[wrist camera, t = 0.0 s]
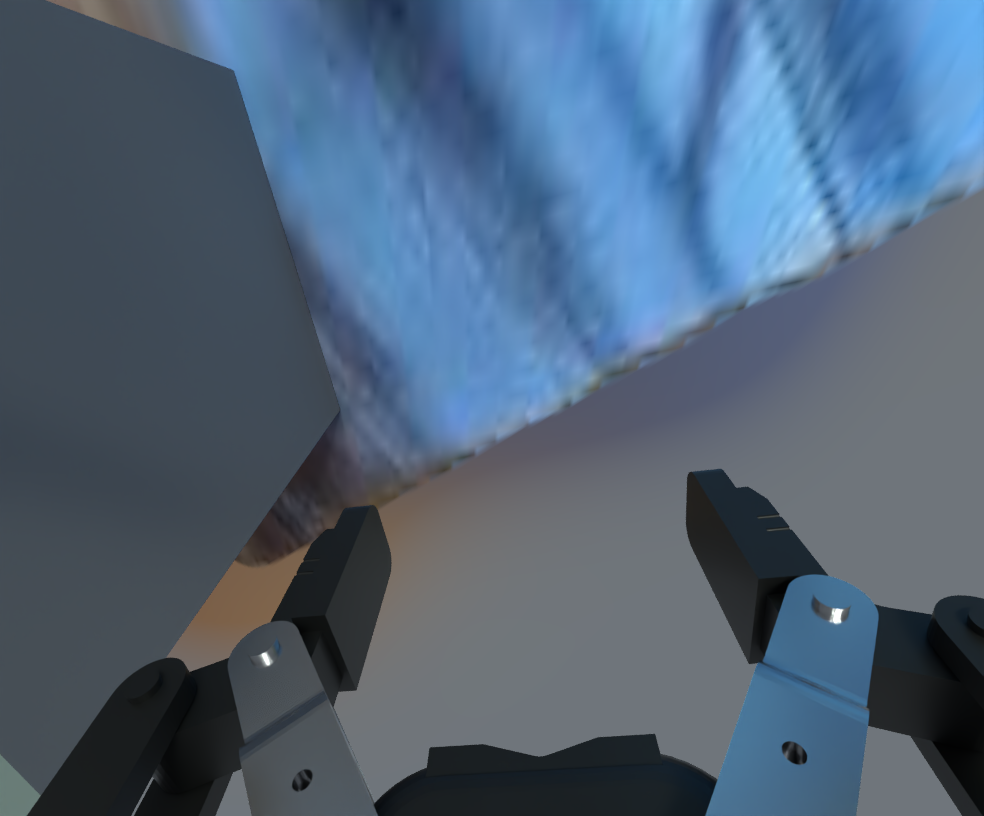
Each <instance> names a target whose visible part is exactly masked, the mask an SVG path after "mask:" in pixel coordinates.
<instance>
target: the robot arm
mask: <svg viewBox="0 0 984 816" xmlns="http://www.w3.org/2000/svg"><path fill="white" fill-rule="evenodd" d="M686 504H687V505H686V527H687V534H688V538H689V541H690V544H691V547H692V549H693V551H694V553H695V555H696V557H697V559H698V561H699V563H700V565H701V567H702V569H703V571H704V573H705V576H706V577H707V580H708V582H709V584H710V586H711V588H712V590H713V592H714V594H715V596H716V598H717V600H718V602H719V604H720V606H721V608H722V610H723V612H724V614H725V616H726V618H727V620H728V622H729V624H730V626H731V628H732V631H733V632H734V635H735V637H736V639H737V641H738V643H739V645H740V647H741V649H742V651H743V653H744V655H745V657H746V659H747V661H748V663H749V664H753V663H758V664H757V666H756V669H755V672H754V674H753V677H752V681H751V684H750V686H749V689H748V692H747V695H746V698H745V701H744V704H743V707H742V710H741V713H740V716H739V719H738V721H737V724H736V727H735V730H734V733H733V736H732V739H731V742H730V745H729V748H728V751H727V754H726V757H725V760H724V763H723V765H722V768H721V772H720V774H719V777H718V780H717V779H716V778H714V777H713V776H711V775H709V774H708V773H706V772H705V771H703V770H702V769H700V768H698V767H696V766H694V765H692V764H690V763H687V762H685V761H682V760H679V759H676V758H674V757H671V756H667V755H663V754H660V751H659V748H658V744H657V740H656V736H655V734H646V735H630V736H613V737H598V738H595V739H592V740H589V741H586V742H583V743H581V744H578V745H575V746H572V747H570V748H566V749H564V750H561V751H558V752H555V753H552V754H549V755H547V756H543V757H542V756H541V757H538V756H532V755H528V754H523V753H519V752H515V751H510V750H506V749H501V748H497V747H493V746H488V745H483V744H481V745H464V746H448V747H431V748H430V749H429V757H428V763H427V768H425V769H422V770H420V771H418V772H416V773H414V774H412V775H410V776H408V777H406V778H405V779H403V780H402V781H400V782H399V783H397V784H396V785H394V786H393V787H392V788H391V789H389V790H388V791H387V792H386V793H385V794H383V795H382V796H381V797H380V798H379V799H378V800H377V801H376V802H375V800H374V798H373V796H372V794H371V792H370V789H369V787H368V785H367V783H366V781H365V778H364V776H363V774H362V771H361V769H360V767H359V765H358V762H357V760H356V757H355V755H354V753H353V750H352V748H351V746H350V744H349V741H348V739H347V737H346V734H345V732H344V730H343V728H342V725H341V723H340V721H339V718H338V716H337V714H336V712H335V709H334V703H335V700H336V697H337V694H338V692H339V691H340V692H341V691H354V690H357V687H358V683H359V680H360V676H361V673H362V669H363V666H364V662H365V659H366V656H367V652H368V649H369V645H370V642H371V638H372V635H373V632H374V628H375V625H376V621H377V618H378V615H379V611H380V608H381V604H382V601H383V597H384V594H385V591H386V587H387V584H388V580H389V577H390V572H391V553H390V548H389V545H388V542H387V539H386V536H385V532H384V529H383V526H382V523H381V519H380V516H379V513H378V510H377V508H376V507H375V506H374V505H370V506H361V507H352V508H345V509H344V510H343V512H342V514H341V516H340V518H339V520H338V522H337V524H336V526H335V528H334V529H326V530H325V531H324V532H323V533H322V534H321V535H320V536H319V537H318V538H317V539H316V540H315V541H314V542H313V543H312V544H311V546H310V548H309V550H308V552H307V554H306V555H305V557H304V562H303V563H301V565H300V567H299V569H298V571H297V575H296V576H294V578H293V580H292V582H291V584H290V586H289V588H288V590H287V591H286V593H285V595H284V597H283V599H282V601H281V603H280V605H279V607H278V609H277V611H276V613H275V614H274V616H273V618H272V620H271V622H270V623H267V624H264V625H262V626H260V627H258V628H256V629H255V630H253V631H252V632H250V633H249V634H247V635H246V636H245V637H244V638H243V639H242V640H241V641H240V642H239V643H238V644H237V645H236V647H235V648H234V650H233V651H232V653H231V655H230V657H229V658H227V659H225V660H222V661H219V662H216V663H214V664H211V665H208V666H205V667H203V668H200V669H197V670H194V671H192V672H189V670H188V669H187V667H186V666H185V664H184V663H183V661H181V660H180V659H177V658H164V659H160V660H157V661H154V662H152V663H149V664H147V665H145V666H144V667H142V668H140V669H139V670H137V671H136V672H134V673H133V674H132V675H130V676H129V677H128V678H127V679H125V680H124V681H123V682H122V683H121V684H120V685H119V686H118V687H117V688H116V690H115V691H114V692H113V694H112V695H111V696H110V698H109V699H108V701H107V702H106V703H105V705H104V706H103V708H102V709H101V711H100V712H99V713H98V715H97V716H96V718H95V719H94V721H93V722H92V723H91V725H90V726H89V728H88V729H87V731H86V732H85V733H84V735H83V736H82V738H81V739H80V740H79V742H78V743H77V745H76V746H75V748H74V749H73V750H72V752H71V753H70V755H69V756H68V758H67V759H66V760H65V762H64V763H63V765H62V766H61V768H60V769H59V770H58V772H57V773H56V775H55V776H54V778H53V779H52V780H51V782H50V783H49V785H48V786H47V787H46V789H45V790H44V792H43V793H42V795H41V796H40V797H39V799H38V800H37V802H36V803H35V805H34V806H33V807H32V809H31V810H30V812H29V813H28V815H27V816H131V815H132V813H133V811H134V809H135V807H136V805H137V804H138V802H139V800H140V798H141V796H142V794H143V792H144V791H145V789H146V786H147V785H148V783H149V781H150V779H151V778H152V777H153V778H154V779H153V781H152V783H151V785H150V787H149V789H148V791H147V792H146V794H145V796H144V798H143V800H142V802H141V804H140V805H139V807H138V809H137V811H136V813H135V815H134V816H215V815H216V812H217V810H218V808H219V805H220V803H221V801H222V798H223V796H224V793H225V791H226V788H227V786H228V783H229V781H230V778H231V776H232V774H233V772H235V771H237V770H240V769H242V772H243V777H244V781H245V786H246V790H247V795H248V799H249V805H250V809H251V814H252V816H856V813H857V806H858V798H859V791H860V783H861V775H862V768H863V760H864V752H865V744H866V736H867V729H868V726H871V727H875V728H880V729H884V730H888V731H892V732H897V733H901V734H905V735H910V736H911V738H912V739H913V741H914V742H915V744H916V745H917V747H918V748H919V750H920V751H921V753H922V755H923V756H924V758H925V759H926V761H927V762H928V764H929V765H930V767H931V768H932V770H933V771H934V773H935V775H936V776H937V778H938V779H939V781H940V782H941V784H942V785H943V787H944V788H945V790H946V791H947V793H948V794H949V796H950V798H951V799H952V801H953V802H954V804H955V805H956V807H957V808H958V810H959V811H960V813H961V815H962V816H984V599H982V598H977V597H972V596H959V595H958V596H950V597H946V598H944V599H941V600H940V601H939V602H938V603H937V604H936V606H935V608H934V611H933V614H932V615H931V614H924V613H919V612H912V611H906V610H900V609H893V608H888V607H883V606H879V605H875V604H874V603H873V602H872V601H871V599H870V598H869V597H868V596H867V595H866V594H865V593H863V592H862V591H861V590H859V589H858V588H856V587H855V586H853V585H851V584H849V583H847V582H845V581H843V580H840V579H837V578H834V577H830V576H828V575H827V574H826V572H825V571H824V570H823V568H822V567H821V566H820V565H819V563H818V562H817V561H816V560H815V558H814V557H813V556H812V555H811V553H810V552H809V551H808V550H807V548H806V547H805V546H804V545H803V543H802V542H801V541H800V539H799V538H798V537H797V536H796V534H795V533H794V532H793V531H792V530H790V529H789V526H788V524H787V523H786V522H785V521H784V519H783V518H782V517H780V516H779V513H778V512H777V511H776V509H775V508H774V507H773V506H772V504H771V503H770V502H769V500H768V499H766V498H765V497H764V496H762V495H760V494H759V493H757V492H756V491H754V490H752V489H751V488H749V487H741V488H736V487H735V486H734V484H733V483H732V481H731V480H730V479H729V477H728V476H727V475H726V473H725V472H724V471H723V470H722V469H715V470H705V471H695V472H690V473H689V474H688V477H687V503H686Z"/></svg>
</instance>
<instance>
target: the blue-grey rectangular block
mask: <svg viewBox="0 0 984 816" xmlns="http://www.w3.org/2000/svg"><path fill="white" fill-rule="evenodd" d="M339 411H340V407H339V404H338V401H337V398H336V395H335V391H334V388H333V385H332V382H331V379H330V376H329V372H328V369H327V366H326V363H325V360H324V357H323V353H322V350H321V347H320V344H319V341H318V337H317V334H316V331H315V328H314V325H313V322H312V318H311V315H310V312H309V309H308V306H307V303H306V299H305V296H304V293H303V290H302V287H301V283H300V280H299V277H298V274H297V271H296V268H295V264H294V261H293V258H292V255H291V252H290V248H289V245H288V242H287V239H286V236H285V233H284V229H283V226H282V223H281V220H280V217H279V214H278V210H277V207H276V204H275V201H274V198H273V194H272V191H271V188H270V185H269V182H268V179H267V175H266V172H265V169H264V166H263V163H262V159H261V156H260V153H259V150H258V147H257V144H256V140H255V137H254V134H253V131H252V128H251V125H250V121H249V118H248V115H247V112H246V109H245V105H244V102H243V99H242V96H241V93H240V90H239V86H238V83H237V80H236V77H235V74H234V71H233V70H231V69H228V68H226V67H223V66H220V65H218V64H215V63H212V62H210V61H207V60H204V59H202V58H199V57H196V56H193V55H191V54H188V53H185V52H183V51H180V50H177V49H175V48H172V47H169V46H167V45H164V44H161V43H159V42H156V41H153V40H150V39H148V38H145V37H142V36H140V35H137V34H134V33H132V32H129V31H126V30H124V29H121V28H118V27H116V26H113V25H110V24H107V23H105V22H102V21H99V20H97V19H94V18H91V17H89V16H86V15H83V14H81V13H78V12H75V11H73V10H70V9H67V8H64V7H62V6H59V5H56V4H54V3H51V2H48V1H46V0H0V816H27V815H28V813H29V812H30V810H31V809H32V807H33V806H34V805H35V803H36V802H37V800H38V799H39V797H40V796H41V795H42V793H43V792H44V790H45V789H46V787H47V786H48V785H49V783H50V782H51V780H52V779H53V778H54V776H55V775H56V773H57V772H58V770H59V769H60V768H61V766H62V765H63V763H64V762H65V760H66V759H67V758H68V756H69V755H70V753H71V752H72V750H73V749H74V748H75V746H76V745H77V743H78V742H79V740H80V739H81V738H82V736H83V735H84V733H85V732H86V731H87V729H88V728H89V726H90V725H91V723H92V722H93V721H94V719H95V718H96V716H97V715H98V713H99V712H100V711H101V709H102V708H103V706H104V705H105V703H106V702H107V701H108V699H109V698H110V696H111V695H112V694H113V692H114V691H115V690H116V688H117V687H118V686H119V685H120V684H121V683H122V682H123V681H124V680H125V679H127V678H128V677H129V676H130V675H132V674H133V673H134V672H136V671H137V670H139V669H140V668H142V667H144V666H145V665H147V664H149V663H152V662H154V661H157V660H160V659H164V658H166V657H167V655H168V654H169V652H170V651H171V649H172V648H173V647H174V645H175V644H176V642H177V641H178V639H179V638H180V637H181V635H182V634H183V632H184V631H185V630H186V628H187V627H188V625H189V624H190V622H191V621H192V620H193V618H194V616H195V615H196V614H197V613H198V611H199V610H200V608H201V607H202V605H203V604H204V603H205V601H206V600H207V598H208V597H209V595H210V594H211V593H212V591H213V590H214V588H215V587H216V586H217V584H218V583H219V581H220V580H221V578H222V577H223V576H224V574H225V573H226V571H227V570H228V569H229V567H230V565H231V564H232V563H233V561H234V560H235V559H236V557H237V556H238V554H239V553H240V552H241V550H242V549H243V547H244V546H245V544H246V543H247V542H248V540H249V539H250V537H251V536H252V534H253V533H254V532H255V530H256V529H257V527H258V526H259V525H260V523H261V522H262V520H263V519H264V517H265V516H266V515H267V513H268V512H269V510H270V509H271V508H272V506H273V505H274V503H275V502H276V500H277V499H278V498H279V496H280V495H281V493H282V492H283V490H284V489H285V488H286V486H287V485H288V483H289V482H290V481H291V479H292V478H293V476H294V475H295V473H296V472H297V471H298V469H299V468H300V466H301V465H302V463H303V462H304V461H305V459H306V458H307V456H308V455H309V454H310V452H311V451H312V449H313V448H314V446H315V445H316V444H317V442H318V441H319V439H320V438H321V437H322V435H323V434H324V432H325V431H326V429H327V428H328V427H329V425H330V424H331V422H332V421H333V419H334V418H335V417H336V415H337V414H338V412H339Z"/></svg>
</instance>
